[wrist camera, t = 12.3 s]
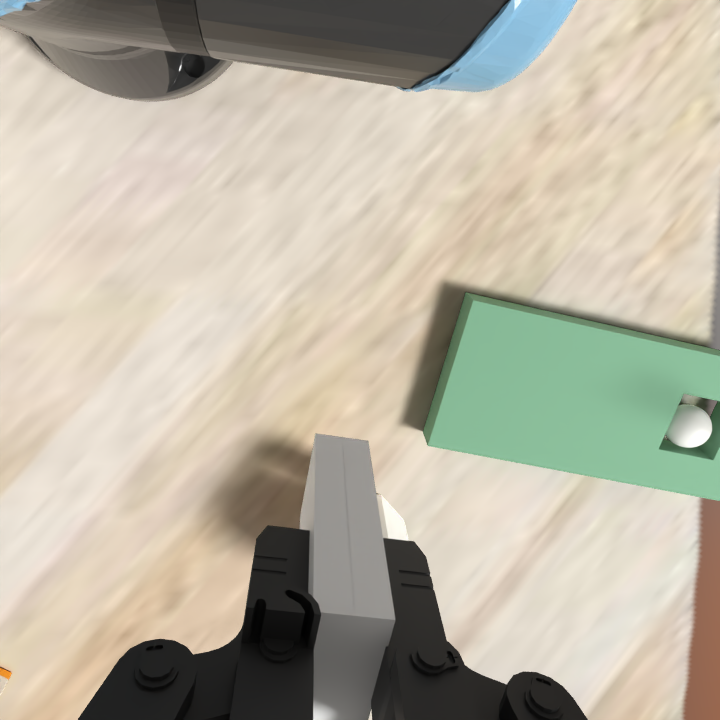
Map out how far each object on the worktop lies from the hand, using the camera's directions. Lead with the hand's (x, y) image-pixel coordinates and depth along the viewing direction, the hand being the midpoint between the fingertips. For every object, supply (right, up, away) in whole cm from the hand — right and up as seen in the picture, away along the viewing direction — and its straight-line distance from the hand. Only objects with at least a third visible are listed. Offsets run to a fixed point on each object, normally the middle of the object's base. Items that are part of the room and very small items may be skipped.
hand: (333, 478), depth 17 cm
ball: (+27, -2, +32) cm, 42 cm away
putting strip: (+20, 0, +32) cm, 38 cm away
